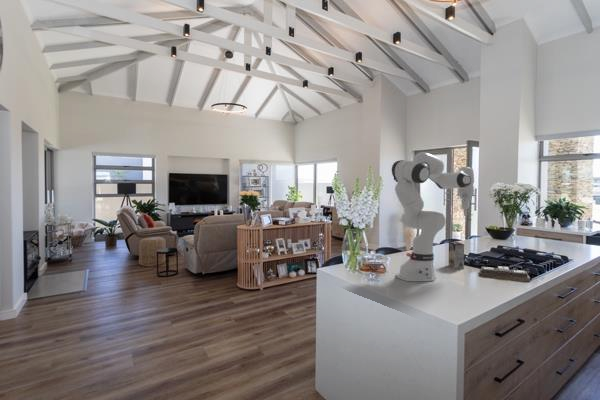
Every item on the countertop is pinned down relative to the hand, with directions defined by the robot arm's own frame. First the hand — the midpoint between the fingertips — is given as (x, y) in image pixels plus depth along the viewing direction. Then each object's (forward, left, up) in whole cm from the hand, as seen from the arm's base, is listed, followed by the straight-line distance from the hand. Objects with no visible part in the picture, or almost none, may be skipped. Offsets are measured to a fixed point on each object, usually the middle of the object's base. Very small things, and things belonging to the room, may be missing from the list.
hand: (465, 215), depth 188 cm
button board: (+13, -15, -35) cm, 40 cm away
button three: (+8, -10, -33) cm, 35 cm away
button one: (+13, -15, -31) cm, 37 cm away
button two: (+18, -20, -33) cm, 43 cm away
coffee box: (+4, +12, -35) cm, 38 cm away
